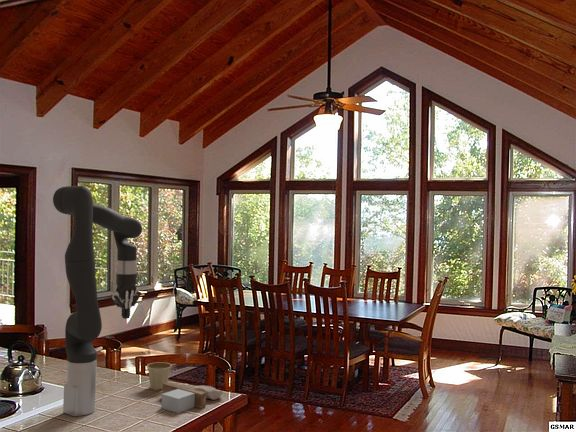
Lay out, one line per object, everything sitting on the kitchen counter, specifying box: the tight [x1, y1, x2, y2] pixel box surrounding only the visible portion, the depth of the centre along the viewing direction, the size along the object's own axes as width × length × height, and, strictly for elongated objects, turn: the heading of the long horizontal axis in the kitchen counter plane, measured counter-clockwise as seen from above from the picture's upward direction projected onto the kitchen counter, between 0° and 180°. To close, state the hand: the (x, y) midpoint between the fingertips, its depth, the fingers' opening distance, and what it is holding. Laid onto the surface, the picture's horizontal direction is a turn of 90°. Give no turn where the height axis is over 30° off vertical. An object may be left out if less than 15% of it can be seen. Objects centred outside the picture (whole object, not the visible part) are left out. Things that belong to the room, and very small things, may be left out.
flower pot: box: [146, 361, 173, 391], centre depth 224 cm, size 9×9×9 cm
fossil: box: [193, 385, 223, 401], centre depth 214 cm, size 9×6×10 cm
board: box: [161, 381, 207, 409], centre depth 208 cm, size 2×19×5 cm, turn 56°
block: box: [160, 389, 196, 414], centre depth 203 cm, size 8×8×5 cm
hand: (125, 318), depth 220 cm, fingers closed
